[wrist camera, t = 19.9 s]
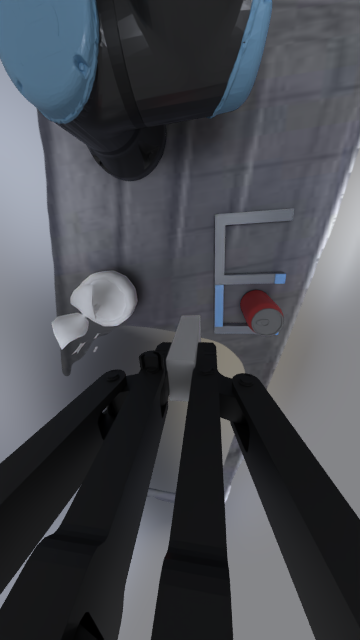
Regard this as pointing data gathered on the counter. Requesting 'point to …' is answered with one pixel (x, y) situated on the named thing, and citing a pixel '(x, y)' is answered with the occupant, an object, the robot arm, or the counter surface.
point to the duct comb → (240, 278)
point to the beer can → (261, 313)
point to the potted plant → (97, 305)
